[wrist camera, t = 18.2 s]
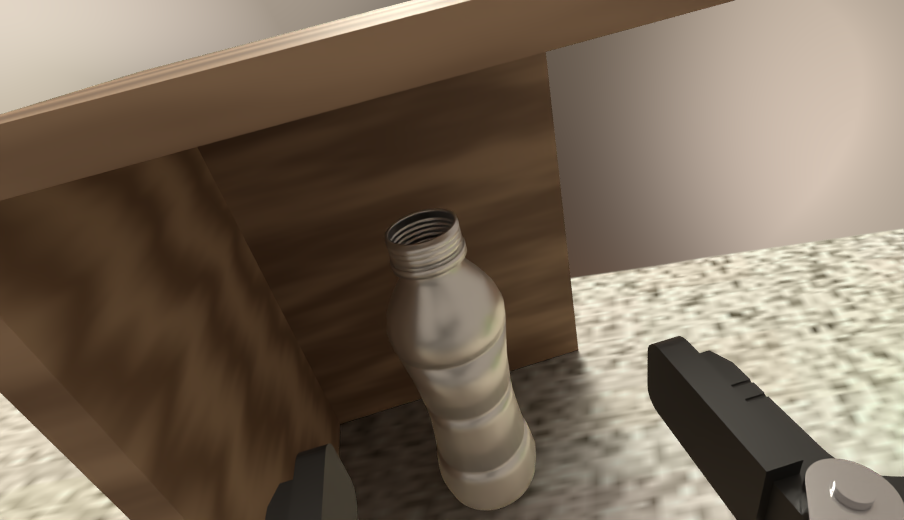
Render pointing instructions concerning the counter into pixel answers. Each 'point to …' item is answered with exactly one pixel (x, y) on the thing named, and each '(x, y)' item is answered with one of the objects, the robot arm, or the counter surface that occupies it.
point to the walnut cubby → (274, 237)
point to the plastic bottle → (458, 360)
